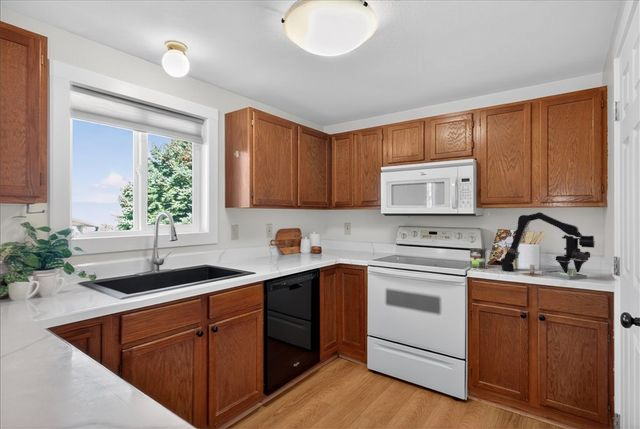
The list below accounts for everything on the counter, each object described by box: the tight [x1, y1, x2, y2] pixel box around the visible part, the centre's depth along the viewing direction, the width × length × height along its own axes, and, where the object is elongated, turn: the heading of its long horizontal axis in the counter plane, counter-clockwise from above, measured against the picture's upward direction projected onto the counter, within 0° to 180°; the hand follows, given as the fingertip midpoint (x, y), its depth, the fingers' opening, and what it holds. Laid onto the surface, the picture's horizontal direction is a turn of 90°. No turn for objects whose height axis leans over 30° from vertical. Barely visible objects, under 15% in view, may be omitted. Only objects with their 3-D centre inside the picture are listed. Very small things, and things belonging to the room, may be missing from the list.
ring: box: [554, 267, 578, 276], centre depth 200 cm, size 13×9×6 cm
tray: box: [541, 269, 588, 281], centre depth 200 cm, size 18×14×3 cm
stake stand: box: [517, 264, 547, 278], centre depth 206 cm, size 11×11×7 cm
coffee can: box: [469, 247, 487, 271], centre depth 235 cm, size 10×10×14 cm
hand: (571, 272), depth 195 cm, fingers open, 9 cm apart
